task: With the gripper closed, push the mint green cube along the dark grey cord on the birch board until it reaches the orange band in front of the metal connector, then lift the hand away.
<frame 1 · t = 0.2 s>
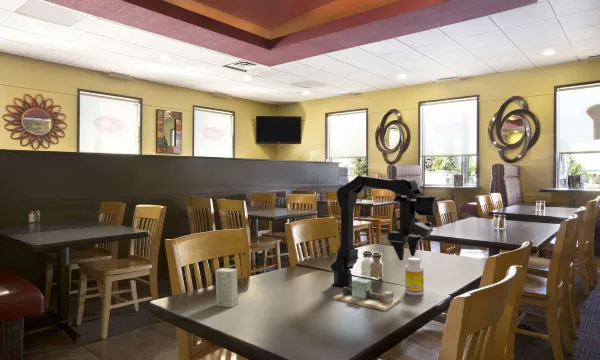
hand: (407, 258, 140), 14 cm above the table, tool pointing down, fingers open, 9 cm apart
cable board: (367, 300, 138), on the table
skincare box: (227, 305, 135), on the table
supplement bottle: (414, 293, 146), on the table
mint green cube: (361, 288, 139), point 4 cm above the table, slide at 0.0 cm
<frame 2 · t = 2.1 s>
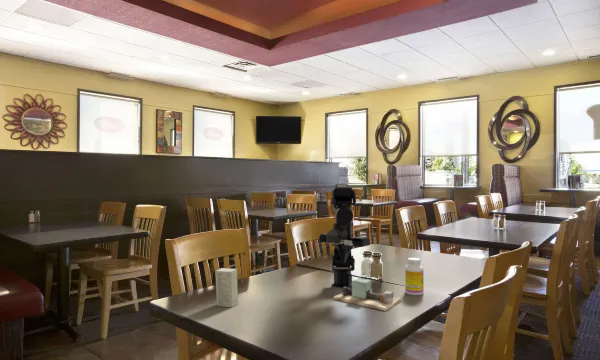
hand: (343, 262, 144), 12 cm above the table, tool pointing down, fingers closed
nothing on the table moved.
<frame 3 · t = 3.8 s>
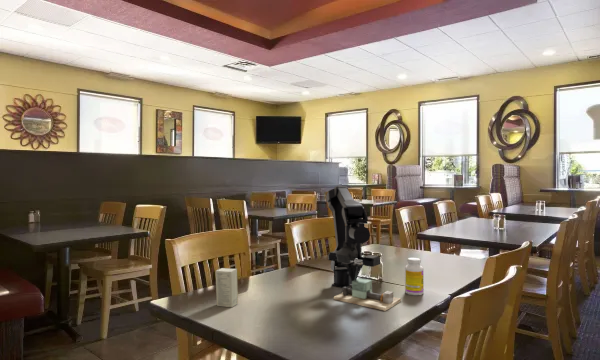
hand: (353, 282, 141), 6 cm above the table, tool pointing down, fingers closed
mint green cube: (362, 288, 139), point 4 cm above the table, slide at 0.1 cm, touching gripper
everything else where it was.
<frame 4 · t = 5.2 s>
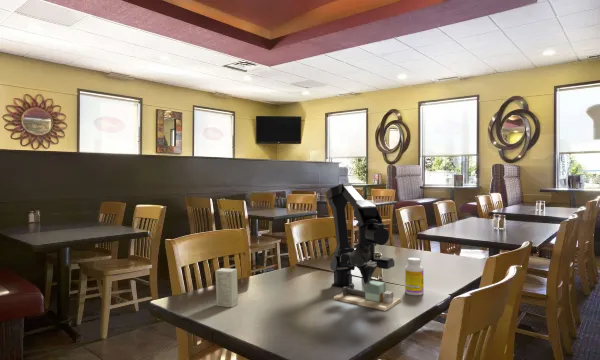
hand: (366, 284, 138), 6 cm above the table, tool pointing down, fingers closed
mint green cube: (375, 290, 136), point 4 cm above the table, slide at 5.3 cm, touching gripper
everything else where it was.
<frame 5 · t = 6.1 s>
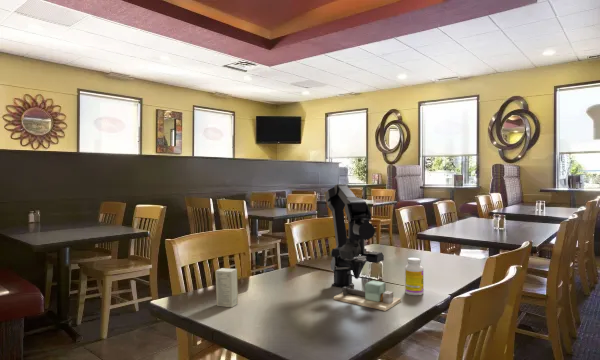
hand: (356, 278, 141), 7 cm above the table, tool pointing down, fingers closed
mint green cube: (375, 290, 136), point 4 cm above the table, slide at 5.3 cm
everything else where it was.
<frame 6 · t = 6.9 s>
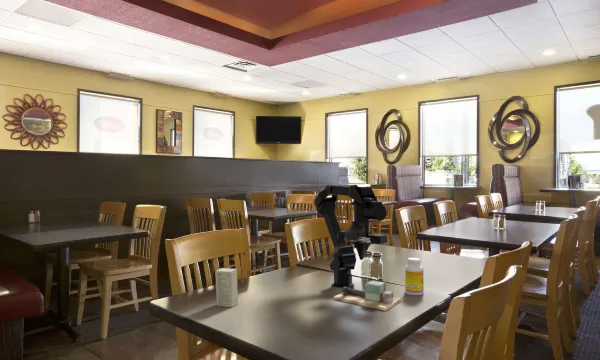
hand: (361, 259, 147), 12 cm above the table, tool pointing down, fingers closed
nothing on the table moved.
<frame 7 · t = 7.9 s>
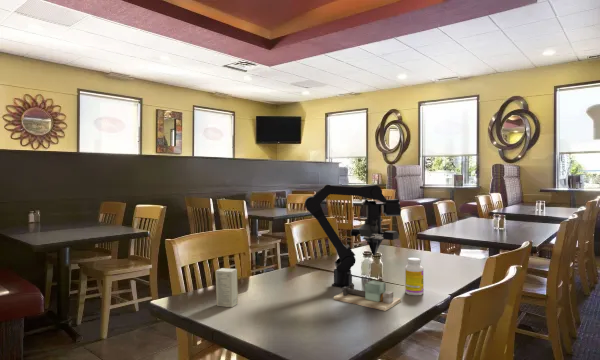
hand: (374, 255, 157), 12 cm above the table, tool pointing down, fingers closed
nothing on the table moved.
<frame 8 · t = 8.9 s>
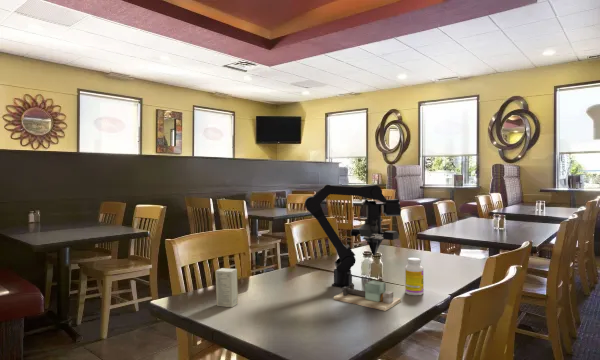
hand: (374, 255, 157), 12 cm above the table, tool pointing down, fingers closed
nothing on the table moved.
at the end: mint green cube slide at 5.3 cm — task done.
